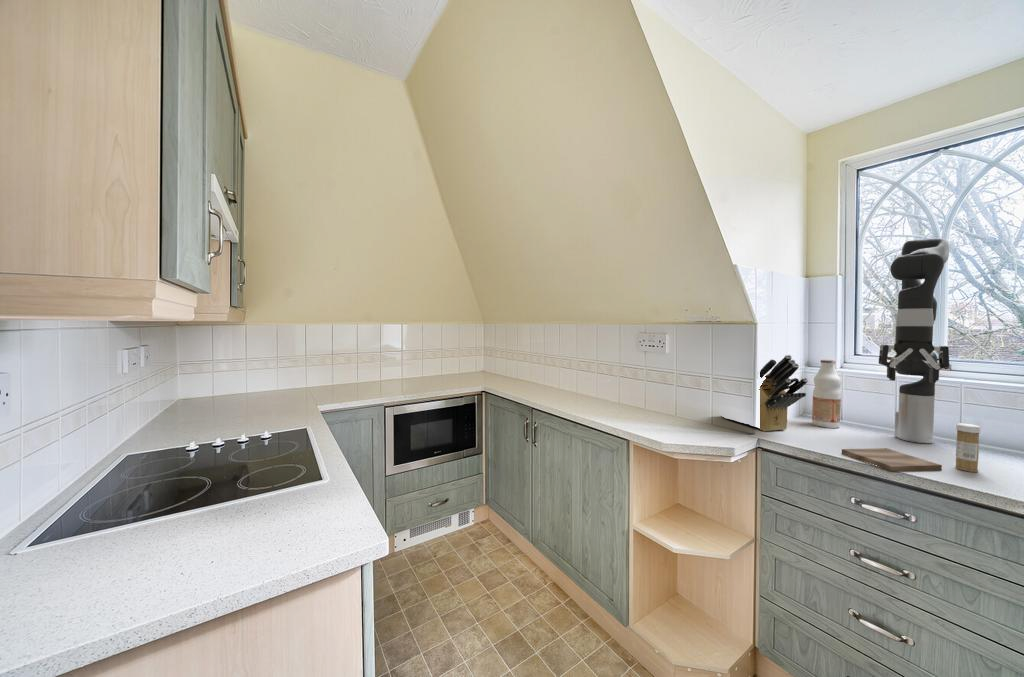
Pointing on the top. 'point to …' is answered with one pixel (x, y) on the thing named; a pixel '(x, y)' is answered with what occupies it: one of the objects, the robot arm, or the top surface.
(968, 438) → the sprinkles bottle
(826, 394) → the fruit juice
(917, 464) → the walnut board
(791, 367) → the knife block
